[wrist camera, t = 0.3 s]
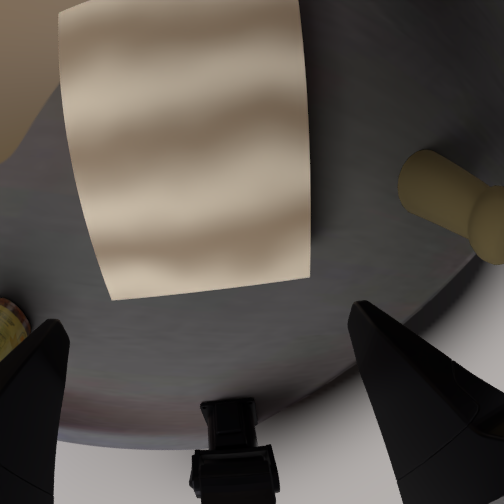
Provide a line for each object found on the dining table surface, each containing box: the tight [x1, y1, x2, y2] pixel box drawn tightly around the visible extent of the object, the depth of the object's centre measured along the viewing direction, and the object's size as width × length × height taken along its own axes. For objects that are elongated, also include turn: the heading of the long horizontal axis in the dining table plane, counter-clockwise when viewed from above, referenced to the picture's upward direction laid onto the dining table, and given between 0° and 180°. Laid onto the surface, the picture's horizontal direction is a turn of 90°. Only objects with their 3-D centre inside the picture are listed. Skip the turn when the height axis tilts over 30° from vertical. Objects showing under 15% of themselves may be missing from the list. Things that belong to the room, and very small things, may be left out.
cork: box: [398, 150, 504, 265], centre depth 18 cm, size 6×6×11 cm
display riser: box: [58, 0, 311, 300], centre depth 17 cm, size 20×14×4 cm
